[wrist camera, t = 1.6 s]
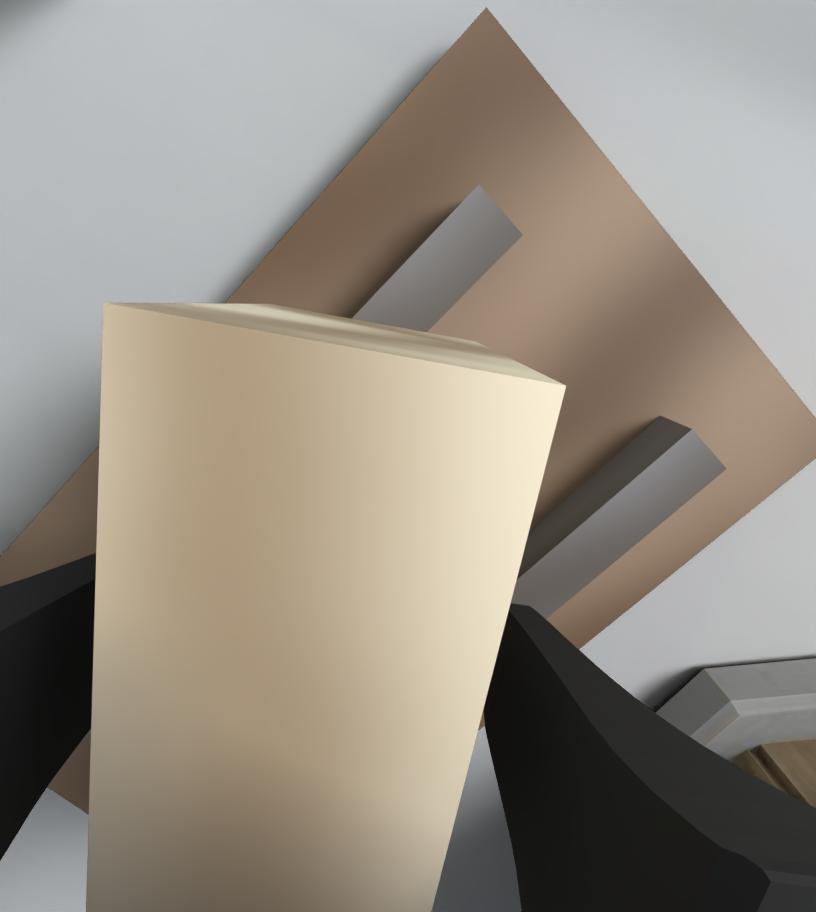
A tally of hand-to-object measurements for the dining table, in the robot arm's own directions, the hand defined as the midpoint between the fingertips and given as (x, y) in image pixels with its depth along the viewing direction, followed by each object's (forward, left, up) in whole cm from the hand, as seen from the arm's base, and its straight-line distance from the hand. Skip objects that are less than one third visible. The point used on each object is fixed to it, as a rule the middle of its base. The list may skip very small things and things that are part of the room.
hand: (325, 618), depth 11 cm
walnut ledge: (0, 0, -3) cm, 3 cm away
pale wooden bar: (0, 0, -1) cm, 1 cm away
